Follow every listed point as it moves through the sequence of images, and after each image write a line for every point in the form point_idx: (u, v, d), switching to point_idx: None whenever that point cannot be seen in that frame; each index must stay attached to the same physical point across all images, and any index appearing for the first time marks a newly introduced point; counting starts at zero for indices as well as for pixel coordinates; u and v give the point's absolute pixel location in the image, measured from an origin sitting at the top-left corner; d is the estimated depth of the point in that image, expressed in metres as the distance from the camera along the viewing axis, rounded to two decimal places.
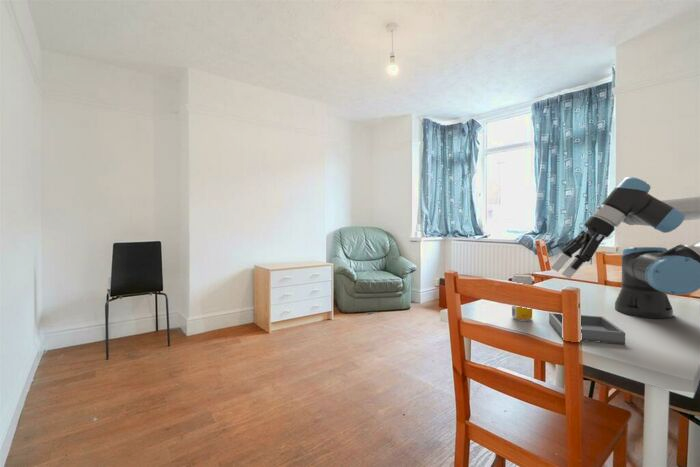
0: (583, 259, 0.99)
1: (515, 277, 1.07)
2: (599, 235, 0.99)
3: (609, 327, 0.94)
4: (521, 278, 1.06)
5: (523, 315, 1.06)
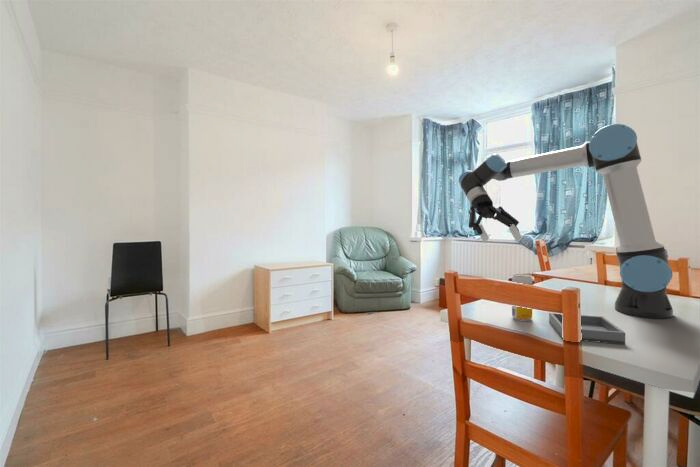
0: (472, 225, 1.20)
1: (515, 277, 1.07)
2: (469, 210, 1.27)
3: (609, 327, 0.94)
4: (521, 278, 1.06)
5: (523, 315, 1.06)
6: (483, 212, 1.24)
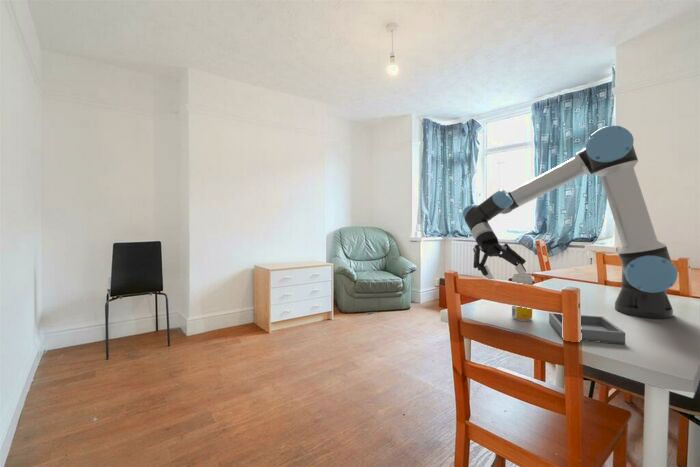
0: (477, 266, 1.17)
1: (515, 277, 1.07)
2: (474, 248, 1.23)
3: (609, 327, 0.94)
4: (521, 278, 1.06)
5: (523, 315, 1.06)
6: (488, 251, 1.20)
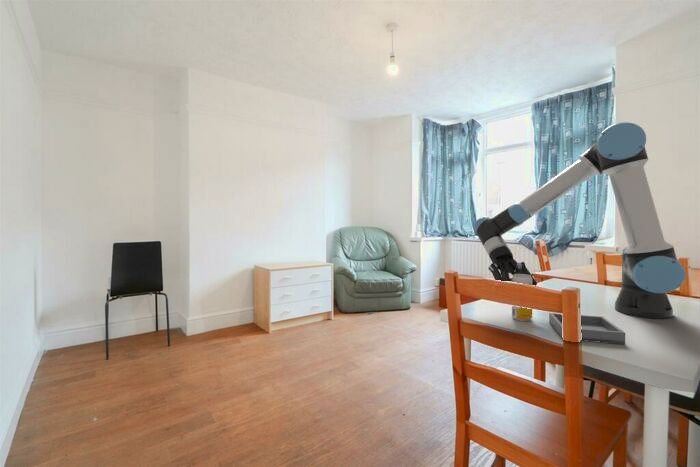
0: None
1: (515, 277, 1.07)
2: (489, 267, 1.15)
3: (609, 327, 0.94)
4: (521, 278, 1.06)
5: (523, 315, 1.06)
6: (506, 269, 1.13)
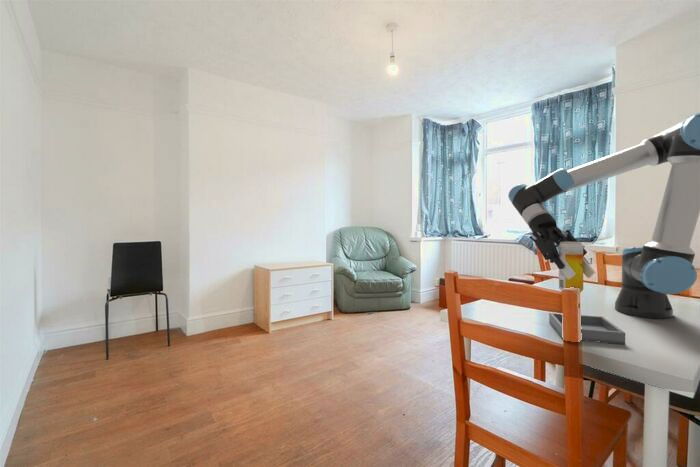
0: (550, 258, 0.97)
1: (563, 244, 0.96)
2: (531, 236, 1.03)
3: (609, 327, 0.94)
4: (571, 245, 0.94)
5: (574, 286, 0.94)
6: (551, 237, 1.01)
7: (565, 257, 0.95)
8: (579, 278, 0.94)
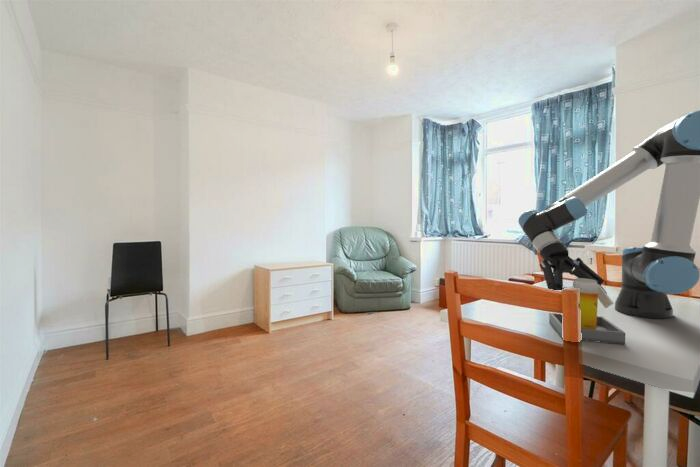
0: (553, 287, 0.95)
1: (578, 282, 0.94)
2: (541, 263, 1.02)
3: (609, 327, 0.94)
4: (586, 283, 0.92)
5: (587, 326, 0.93)
6: (561, 267, 0.99)
7: None
8: (593, 317, 0.92)
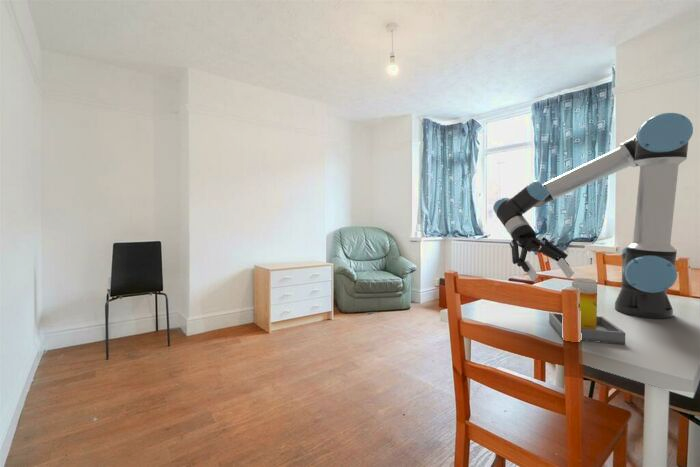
0: (517, 262, 1.09)
1: (576, 282, 0.94)
2: (511, 243, 1.15)
3: (609, 327, 0.94)
4: (584, 283, 0.92)
5: (587, 326, 0.93)
6: (527, 245, 1.12)
7: None
8: (593, 317, 0.92)
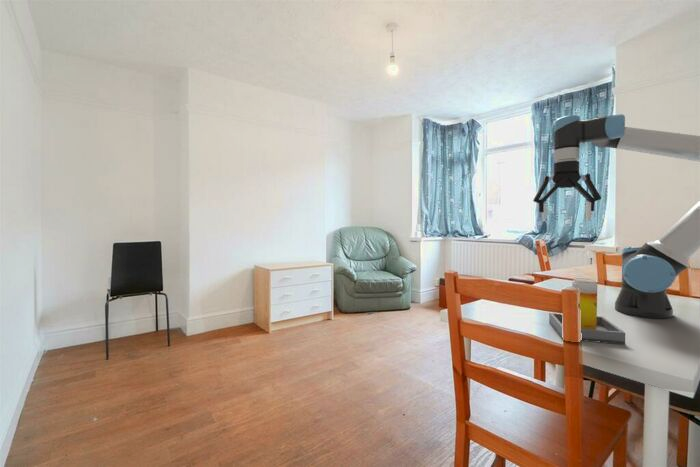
0: None
1: (577, 282, 0.94)
2: (544, 177, 1.17)
3: (609, 327, 0.94)
4: (585, 283, 0.92)
5: (587, 326, 0.93)
6: (557, 186, 1.14)
7: None
8: (593, 317, 0.92)
